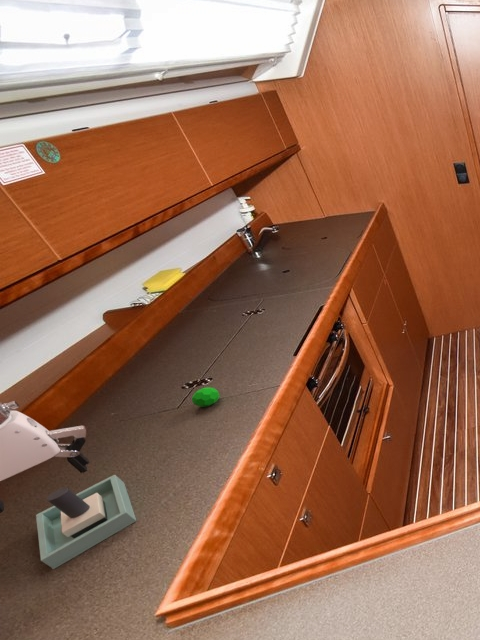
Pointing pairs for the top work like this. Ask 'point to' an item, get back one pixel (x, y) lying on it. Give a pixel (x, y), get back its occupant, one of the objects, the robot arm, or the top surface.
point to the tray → (64, 548)
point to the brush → (78, 511)
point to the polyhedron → (205, 397)
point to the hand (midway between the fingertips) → (44, 487)
